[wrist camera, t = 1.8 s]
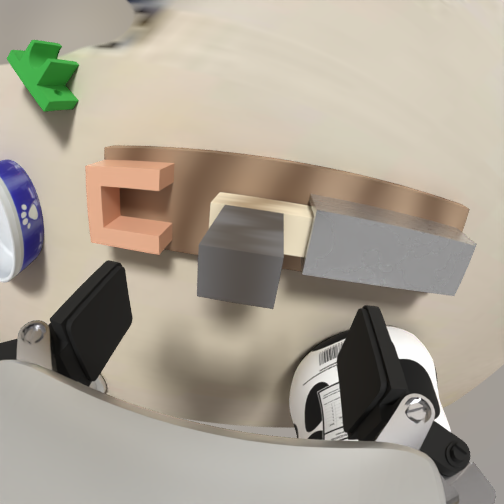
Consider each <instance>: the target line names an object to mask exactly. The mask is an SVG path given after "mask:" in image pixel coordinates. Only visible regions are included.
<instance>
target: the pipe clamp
mask: <svg viewBox="0 0 504 504" xmlns="http://www.w3.org/2000/svg"><path fill="white" fill-rule="evenodd" d="M61 48H62V46H61V45H60V44H58V43H52V42H45V41H38V40H32V41H31V42H30V44H29V46H28V47H27V49H26V51H21V50H11V52H10V54H9V56H8V57H7V60H8V61H9V63H10V64H11V66H12V67H13V69H14V70H15V72H16V73H17V75H18V76H19V78H20V79H21V81H22V82H23V84H24V85H25V86H26V88H27V89H28V91H29V92H30V93H31V95H32V96H33V98H34V99H35V100H36V102H37V103H38V104H39V106H40V107H41V108H42V110H43V111H44V112H45V111H55V110H68V109H73V108H74V107H75V105H76V104H77V102H78V99H77V98H76V97H75V96H74V95H73V94H72V93H71V91H70V90H69V89H68V88H67V87H66V86H65V85H66V83H67V82H68V80H69V79H70V77H71V76H72V75H73V73H74V72H75V70H76V69H77V67H78V66H79V65H78V64H77V62H74V61H66V60H58V59H57V57H58V54H59V51H60V49H61Z"/></svg>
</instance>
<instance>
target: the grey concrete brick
mask: <svg viewBox="0 0 504 504" xmlns="http://www.w3.org/2000/svg"><path fill="white" fill-rule="evenodd" d="M309 202H310V205H311V208H312V211H313V214H314V218H313V223H312V227H311V232H310V236H309V241H308V245H307V250H306V254H305V258H304V257H300V259H301V269H302V275H309V276H315V277H322V278H329V279H335V280H342V281H349V282H356V283H363V284H370V285H377V286H384V287H391V288H399V289H406V290H413V291H421V292H428V293H436V294H443V295H451V296H454V295H455V293H456V291H457V289H458V287H459V285H460V283H461V281H462V278H463V276H464V274H465V272H466V269H467V267H468V265H469V262H470V260H471V257H472V255H473V252H474V250H475V247H476V243H475V242H474V241H472V240H471V239H470V238H469V237H467V236H466V235H465V234H464V233H462V232H461V231H460V230H459V229H457V228H455V227H452V226H448V225H445V224H441V223H438V222H434V221H430V220H427V219H423V218H419V217H415V216H411V215H407V214H403V213H399V212H395V211H391V210H387V209H382V208H378V207H374V206H369V205H365V204H360V203H355V202H350V201H346V200H341V199H336V198H331V197H325V196H320V195H315V194H310V200H309Z"/></svg>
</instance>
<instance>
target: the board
mask: <svg viewBox="0 0 504 504" xmlns="http://www.w3.org/2000/svg"><path fill="white" fill-rule="evenodd" d="M104 160H132V161H151V162H166V163H175V165H174V182H173V183H171V184H170V185H168V186H167V187H165V188H163V189H162V190H160V191H152V190H142V189H131V188H120V214H121V216H127V217H134V218H141V219H149V220H156V221H163V222H170V223H172V241H171V242H170V243H169V244H168V245H167V246H166V248H165V250H171V251H177V252H183V253H189V254H195V255H198V250H199V243H200V242H201V240H202V239H203V237H204V236H205V234H206V232H207V231H208V229H209V218H210V205H211V202H212V201H213V199H214V198H215V197H216V196H217V195H218V194H219V192H223V193H230V194H238V195H245V196H252V197H259V198H265V199H272V200H278V201H284V202H290V203H296V204H302V205H308V206H311V205H310V202H309V200H310V194H315V195H320V196H325V197H331V198H336V199H341V200H346V201H350V202H355V203H360V204H365V205H369V206H374V207H378V208H382V209H387V210H391V211H395V212H399V213H403V214H407V215H411V216H415V217H419V218H423V219H427V220H430V221H434V222H438V223H441V224H445V225H448V226H452V227H455V228H457V229H459V230H460V231H461V232H462V231H463V228H464V225H465V222H466V219H467V216H468V212H469V209H468V208H467V207H465V206H463V205H462V204H459V203H456V202H453V201H450V200H447V199H444V198H441V197H438V196H435V195H432V194H429V193H426V192H422V191H419V190H416V189H412V188H409V187H405V186H402V185H398V184H394V183H391V182H387V181H383V180H379V179H375V178H371V177H367V176H363V175H359V174H354V173H350V172H346V171H341V170H336V169H331V168H327V167H322V166H316V165H311V164H306V163H300V162H294V161H288V160H282V159H276V158H269V157H262V156H255V155H248V154H240V153H231V152H222V151H212V150H201V149H188V148H174V147H154V146H109V147H105V150H104ZM282 269H288V270H295V271H301V272H302V269H301V259H300V257H298V256H292V255H286V254H284V259H283V264H282Z"/></svg>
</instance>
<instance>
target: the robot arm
mask: <svg viewBox="0 0 504 504" xmlns="http://www.w3.org/2000/svg"><path fill="white" fill-rule="evenodd" d="M50 321H51V323H50V324H49V325H47V323H45V322H43V321H40V320H36V321H31V322H28V323H27V324H25V325H24V326H23V327H22V328H21V329H20V331H19V333H18V339H15V340H11V341H7V342H3V343H0V504H494V503H495V498H496V495H495V490H494V488H493V487H492V486H491V484H490V483H489V481H488V480H487V479H486V478H485V476H484V475H483V474H482V472H481V471H480V470H479V468H478V467H477V466H476V464H475V463H474V462H473V463H471V464H470V462H469V460H470V451H469V448H468V446H467V444H466V443H465V442H463V441H462V440H461V439H459V438H458V437H457V436H455V435H454V434H452V433H451V432H450V431H448V430H447V429H445V428H444V427H443V426H441V425H440V424H438V423H437V422H436V421H434V417H435V409H434V407H433V404H432V403H431V402H430V400H429V399H427V398H426V397H425V396H422V395H420V394H410V393H409V390H408V386H407V383H406V380H405V376H404V373H403V370H402V367H401V364H400V361H399V358H398V355H397V352H396V349H395V346H394V344H393V342H392V341H391V338H390V335H389V332H388V330H387V327H386V324H385V321H384V319H383V316H382V313H381V311H380V308H379V307H376V306H368V305H365V306H364V307H363V308H360V309H359V310H358V311H357V314H356V316H355V318H354V321H353V323H352V325H351V328H350V330H349V332H348V334H347V337H346V339H345V341H344V343H343V345H342V347H341V349H340V352H339V354H338V356H337V371H338V379H339V388H340V398H341V408H342V419H343V430H344V432H345V433H347V434H348V440H358V441H341V440H315V439H300V438H286V437H277V436H268V435H261V434H254V433H246V432H241V431H235V430H230V429H224V428H219V427H214V426H209V425H205V424H200V423H196V422H192V421H188V420H184V419H180V418H176V417H173V416H169V415H166V414H162V413H159V412H156V411H152V410H149V409H146V408H143V407H140V406H137V405H134V404H131V403H128V402H126V401H123V400H120V399H117V398H115V397H112V396H110V395H107V394H105V391H106V384H105V382H104V379H103V378H102V376H101V375H100V373H101V372H102V370H103V368H104V367H105V365H106V363H107V362H108V360H109V358H110V357H111V355H112V354H113V352H114V350H115V349H116V347H117V346H118V344H119V343H120V341H121V339H122V338H123V336H124V335H125V333H126V332H127V330H128V329H129V327H130V325H131V323H132V313H131V307H130V301H129V295H128V288H127V281H126V274H125V269H124V267H122V265H121V263H118V262H114V261H109V260H108V261H106V262H105V263H104V264H103V265H102V266H101V267H100V268H99V269H98V270H97V271H96V272H94V273H93V274H92V275H91V276H90V277H89V278H88V279H87V280H86V281H85V282H84V283H83V284H82V285H81V286H80V287H79V288H78V289H77V290H76V291H75V293H74V294H73V295H72V296H71V297H70V298H69V299H68V300H67V301H66V302H65V303H64V304H63V305H62V306H61V307H60V308H59V309H58V310H57V312H56V313H55V314H54V315H53V316H52V317H51V318H50Z"/></svg>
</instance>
